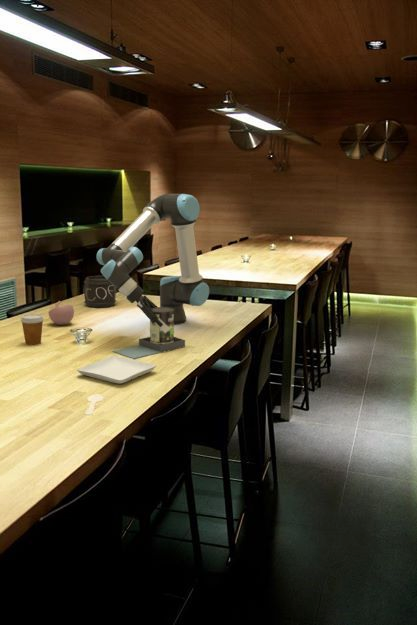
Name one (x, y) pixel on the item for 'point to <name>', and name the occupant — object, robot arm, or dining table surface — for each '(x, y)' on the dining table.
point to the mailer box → (149, 348)
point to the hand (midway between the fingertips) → (168, 327)
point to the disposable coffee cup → (32, 328)
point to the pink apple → (61, 314)
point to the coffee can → (168, 318)
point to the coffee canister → (99, 292)
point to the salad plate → (116, 369)
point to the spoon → (93, 403)
